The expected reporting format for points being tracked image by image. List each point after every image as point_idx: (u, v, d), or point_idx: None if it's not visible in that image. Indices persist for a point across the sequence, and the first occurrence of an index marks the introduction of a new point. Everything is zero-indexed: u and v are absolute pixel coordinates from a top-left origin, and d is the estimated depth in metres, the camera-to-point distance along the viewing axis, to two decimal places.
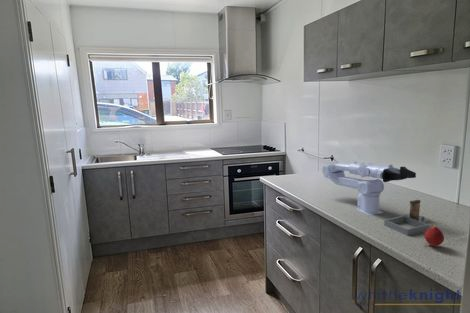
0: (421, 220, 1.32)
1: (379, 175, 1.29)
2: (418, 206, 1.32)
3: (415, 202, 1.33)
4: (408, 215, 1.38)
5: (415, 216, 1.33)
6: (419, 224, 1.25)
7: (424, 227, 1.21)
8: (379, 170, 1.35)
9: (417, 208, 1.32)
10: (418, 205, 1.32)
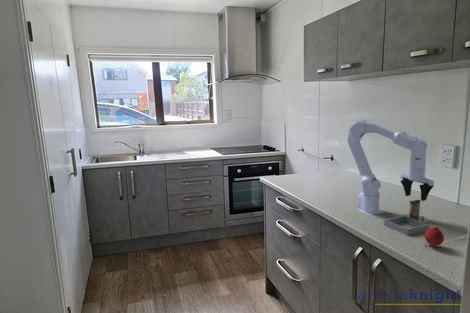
0: (421, 220, 1.32)
1: (432, 184, 1.26)
2: (418, 206, 1.32)
3: (415, 202, 1.33)
4: (408, 215, 1.38)
5: (415, 216, 1.33)
6: (419, 224, 1.25)
7: (424, 227, 1.21)
8: (424, 171, 1.29)
9: (417, 208, 1.32)
10: (418, 205, 1.32)
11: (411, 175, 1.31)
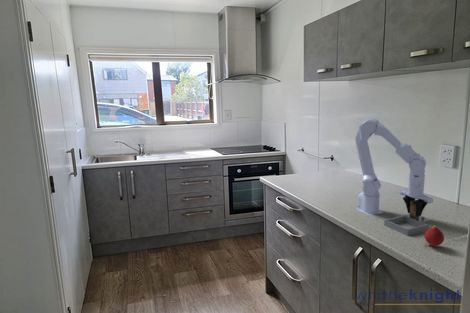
0: (421, 220, 1.32)
1: (431, 201, 1.27)
2: None
3: None
4: (408, 215, 1.38)
5: (415, 216, 1.33)
6: (419, 224, 1.25)
7: (424, 227, 1.21)
8: (423, 188, 1.31)
9: None
10: None
11: (410, 192, 1.32)
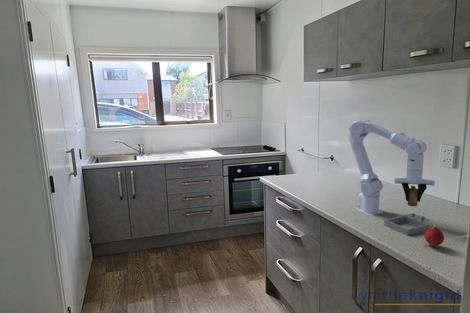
0: (421, 220, 1.32)
1: None
2: (417, 191, 1.29)
3: (415, 188, 1.28)
4: (408, 215, 1.38)
5: (416, 202, 1.29)
6: (419, 224, 1.25)
7: (424, 227, 1.21)
8: None
9: (417, 193, 1.28)
10: None
11: (414, 178, 1.26)
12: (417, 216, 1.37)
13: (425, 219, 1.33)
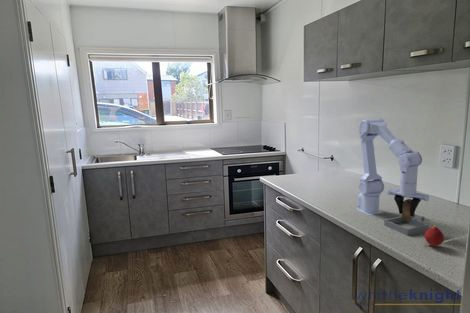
0: (421, 220, 1.32)
1: (428, 199, 1.18)
2: None
3: (408, 201, 1.23)
4: None
5: (409, 217, 1.23)
6: (419, 224, 1.25)
7: (424, 227, 1.21)
8: None
9: None
10: None
11: (404, 191, 1.21)
12: (417, 216, 1.37)
13: (425, 219, 1.33)
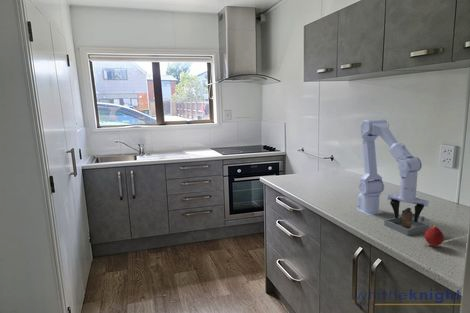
0: (421, 220, 1.32)
1: (427, 204, 1.19)
2: (411, 215, 1.23)
3: (408, 211, 1.23)
4: None
5: (408, 226, 1.23)
6: (419, 224, 1.25)
7: (424, 227, 1.21)
8: None
9: (410, 217, 1.23)
10: (411, 214, 1.23)
11: (404, 196, 1.21)
12: None
13: (425, 219, 1.33)
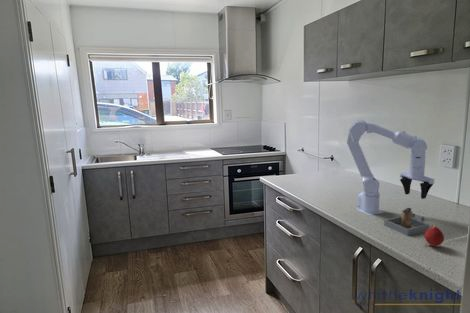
0: (421, 220, 1.32)
1: (432, 182, 1.28)
2: (411, 215, 1.23)
3: (408, 211, 1.23)
4: None
5: (408, 226, 1.23)
6: (419, 224, 1.25)
7: (424, 227, 1.21)
8: (424, 169, 1.32)
9: (410, 217, 1.23)
10: (411, 214, 1.23)
11: (411, 174, 1.33)
12: (417, 216, 1.37)
13: (425, 219, 1.33)
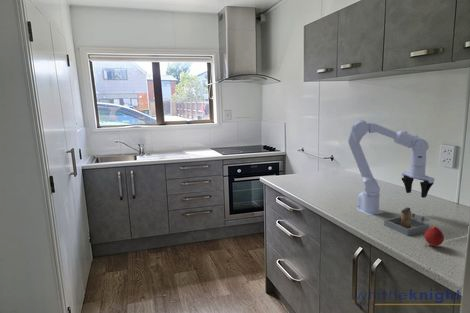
0: (421, 220, 1.32)
1: (432, 181, 1.30)
2: (410, 214, 1.23)
3: (407, 210, 1.24)
4: None
5: (408, 226, 1.23)
6: (419, 224, 1.25)
7: (424, 227, 1.21)
8: None
9: (409, 216, 1.23)
10: (410, 213, 1.23)
11: (412, 173, 1.35)
12: (417, 216, 1.37)
13: (425, 219, 1.33)
